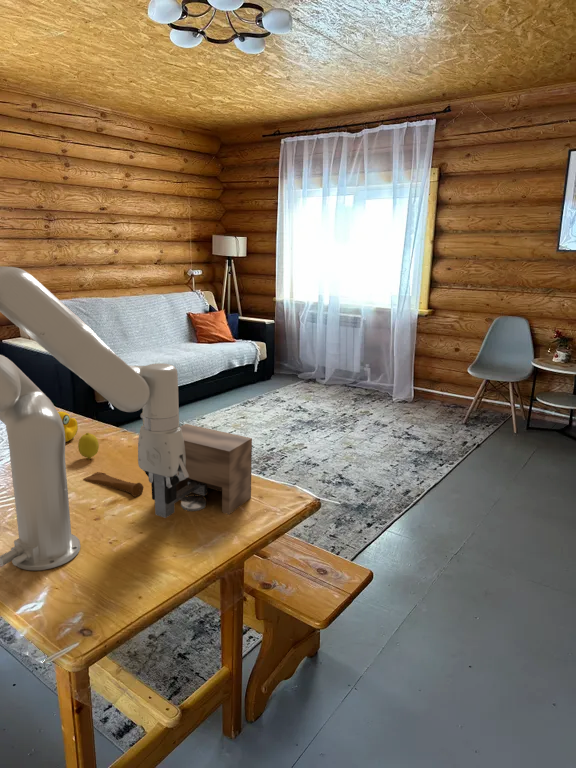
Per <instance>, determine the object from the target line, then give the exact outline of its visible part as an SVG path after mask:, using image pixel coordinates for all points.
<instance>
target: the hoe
mask: <svg viewBox="0 0 576 768" xmlns="http://www.w3.org/2000/svg"><path fill="white" fill-rule="evenodd" d="M171 478H172V479H173V477H171ZM165 487H167V485H166V477H165V476H161V475H158V474H154V490H155V500H154V511H155V513H154V515H155V516H157V517H158V516H159V517H161V518H164V519H167V518H169V517H170V516H171V515H173V514H175V511H176V509H175V504H176V503H177V502H179V501H181V499H182V498H184V497H186V496H189V495H191V494H192V493H193V494H195V495H201V496H203V497H205V496H206V495H208V488H207V484H204V483H200V482H197V481H193V480H190V481H188V485H187V486H185V487H183V488H182V489H180V490H179V491H177V498H176V500H174V501H173V502H171V503H169V504H166V503H165Z"/></svg>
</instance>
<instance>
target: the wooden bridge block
mask: <svg viewBox="0 0 576 768" xmlns="http://www.w3.org/2000/svg"><path fill="white" fill-rule="evenodd" d="M179 428H181V430H182V434H183V439H184V445H185V455H186V467H185V468H186V470H187V473H188V475H189V477H188V478H186V479H184V480H182V481H179V483H178V484H176V492H177V491H179V490H180V489H182V488H183V487H185V486H187V485H188V481H190V480H193V481H197V482H200V483H204V484H207V489H212V490H214V491H217V490H218V492H221V491H222V492H221V498H222V499H221V509H222V510H221V513H222V512H223V514H226V513H227V515H231V514H232V513H233V512H235V511H236V510H237V509H239V508H240V507H241V506H243V505H244V504H245V503H246V502H247V501H248V500H250V499H252V469H253V468H252V467H253V466H252V463H253V462H252V460H253V459H252V458H253V457H252V456H253V455H252V454H253V453H252V452H253V451H252V450H253V438H252V437H250V436H249V437H247V436H243V435H239V434H234V433H230V432H225V431H222V430H221V431H220V430H215V429H212V428H207V427H202V426H198V425H193V424H189V423H185V424H182V425H179ZM178 475H179V472H178ZM243 503H244V504H243ZM239 506H240V507H239ZM235 509H236V510H235ZM231 512H232V513H231ZM230 513H231V514H230Z"/></svg>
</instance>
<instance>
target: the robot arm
mask: <svg viewBox="0 0 576 768" xmlns="http://www.w3.org/2000/svg"><path fill="white" fill-rule="evenodd" d="M0 313H1V314H2V315H3V316H4V317H6V319H8V320H9V321H10V322H11V323H12V324H14V325H15V326H16V327H17V328H19V329H20V330H21V331H23V332H24V333H25V334H26V335H27V336H29V337H30V338H31V339H32V340H33V341H35V342H36V343H37V344H38V345H39V346H40V347H41V348H43V349H44V350H45V351H46V352H47V353H49V354H50V355H51V356H52V357H53V358H55V359H56V361H58V362H59V363H60V364H62V365H63V366H65V367H66V368H67V369H69V370H70V371H71V372H72V373H74V374H75V375H76V376H78V377H79V378H80V379H82V380H83V381H84V383H86V384H87V385H88V386H90V387H91V388H92V389H93V390H94V391H96V392H97V393H98V394H99V395H100V396H102V397H103V399H105V400H106V401H108V402H109V404H111V405H112V406H113V407H115V408H116V409H117V410H119V411H122V412H126V413H134V412H137V411H140V410H142V412H141V413H140V418H141V419H142V425H141V426H140V429H139V434H138V441H137V442H138V443H137V462H138V465H137V466H138V467H139V469H141V470H142V471H144V473H145V475H146V476H147V477H148V482H149V484H151V500H153V501H155V490H154V474H158V475H161V476H165V477H166V485H167V487H165V503H166V504H169V503H171V502H173V501H174V500H176V498H177V492H176V484H178V483H179V481H182V480H184V479H186V478H188V477H189V475H188V473H187V470H186V468H185V467H186V455H185V445H184V439H183V434H182V430H181V428H179V427H180V414H179V413H180V410H179V408H180V407H179V379H178V370H177V368H176V367H175V365H172V364H169V363H164V362H163V363H151V364H147V365H129V364H128V363H126V362H125V361H124V360H123V358H121V357H120V356H119V355H118V354H116V352H114V351H113V350H112V349H111V348H110V347H109V346H108V345H107V344H106V343H105V342H104V341H103V340H102V339H101V338H100V337H99V336H98V335H97V334H96V332H95V331H94V330H93V329H92V328H91V327H89V325H88V324H86V323H85V322H84V321H83V320H82V319H81V318H80V317H79V316H78V315H76V313H74V311H72V310H71V309H70V308H69V307H68V306H66V304H64V303H63V302H62V301H61V300H60V299H59V298H58V297H57V296H56V295H54V293H52V292H51V291H50V289H48V288H47V287H45V286H44V284H42V282H40V281H39V280H38V278H36V277H35V276H33V275H32V274H31V273H29V272H27V271H26V270H24V269H22V268H20V267H15V266H0ZM58 412H59V411H58V410H57V409H56V407H55V405H54V403H53V402H52V400H51V399H50V398H49V397H48V396H47V395H46V393H44V392H43V391H42V390H41V389H40V388H39V387H38V386H37V385H36V383H34V382H33V381H32V380H31V379H30V378H29V376H27V375H26V374H25V373H24V372H23V371H22V370H21V369H20V368H19V367H18V366H17V365H16V364H15V363H14V362H13V361H12V360H11V359H9V358H8V357H6V356H5V355H3V354H0V421H1V422H2V423H3V424H4V425H5V429H6V435H7V443H8V449H9V450H8V451H9V457H10V470H11V478H12V486H13V487H12V488H13V495H14V503H15V512H16V521H17V531H18V538H16V539H15V540H14V541H13V543H14V544H13V545H14V546H12V547H11V548H10V550H9V551H8V552H6V551H5V552H4V553H3V554H1V555H0V567H3V566H5V565H7V564H9V563H11V562H12V563H11V564H12V565H13V566H15V567H17V568H19V569H22V570H26V571H33V572H34V571H45V570H50V569H54V568H58V567H60V566H62V565H64V564H66V563H68V562H70V561H72V560H73V559H74V558H75V557H76V556H77V555H78V554H79V553H80V550H81V541H80V539H79V538H78V536H76V535H75V534H72V528H71V527H72V526H71V514H70V502H69V491H68V490H69V487H68V478H67V466H66V464H67V463H66V442H65V431H64V426H63V422H62V420H61V417H60V415H59V413H58ZM178 472H179V475H178ZM171 477H173V479H172V478H171Z"/></svg>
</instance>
